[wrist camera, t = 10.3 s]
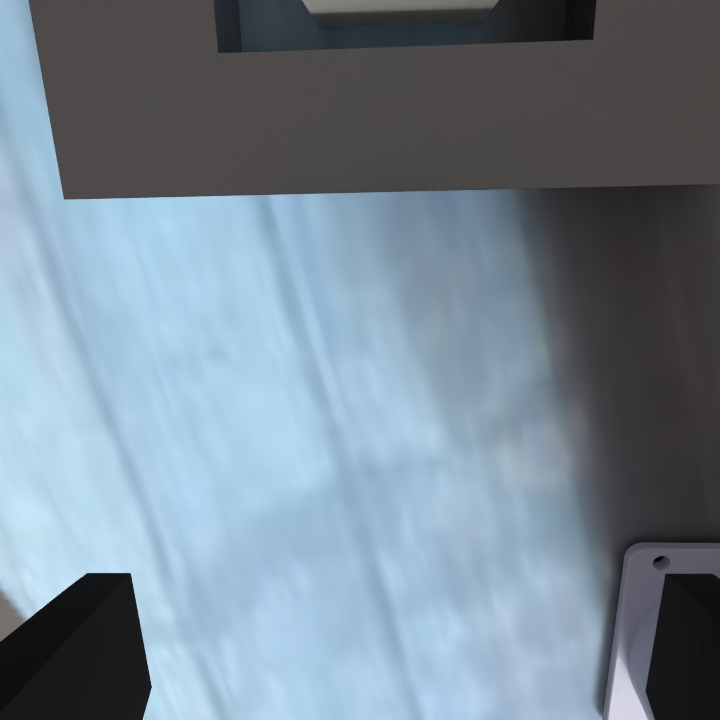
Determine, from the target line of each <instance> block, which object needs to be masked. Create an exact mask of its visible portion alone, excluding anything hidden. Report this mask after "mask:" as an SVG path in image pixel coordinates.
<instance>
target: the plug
mask: <svg viewBox="0 0 720 720" xmlns="http://www.w3.org/2000/svg"><path fill="white" fill-rule="evenodd" d="M302 1H303V3H304V4H305V6H306V7H307V9H308V10H309V12H310V13H311V15H312V17H313V18H314V20H315V21H316V23H317V24H318V26H319V27H343V26H378V25H413V24H447V23H482V22H483V20H484V19H485V18H486V17H487V15H488V14H489V13H490V11H491V10H492V9H493V7H494V6H495V5H496V4H497V2H498V1H499V0H302Z"/></svg>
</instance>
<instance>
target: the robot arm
mask: <svg viewBox="0 0 720 720" xmlns="http://www.w3.org/2000/svg"><path fill="white" fill-rule="evenodd" d="M659 556H664V558H663V559H662V560H661V561H658V562H653V561H654V559H655V558H657V557H659ZM151 688H152V686H151V681H150V675H149V670H148V665H147V659H146V654H145V648H144V643H143V637H142V632H141V627H140V621H139V616H138V610H137V605H136V599H135V594H134V589H133V583H132V578H131V573H87V574H86V575H84V576H83V577H82V578H80V579H79V580H77V581H76V582H75V583H73V584H72V585H71V586H69V587H68V588H67V589H66V590H64V591H63V592H62V593H61V594H59V595H58V596H57V597H55V598H54V599H53V600H52V601H50V602H49V603H48V604H47V605H45V606H44V607H43V608H42V609H41V610H39V611H38V612H37V613H36V614H34V615H33V616H32V617H31V618H29V619H28V620H27V621H26V622H24V623H23V624H22V625H21V626H20V627H18V628H17V629H16V630H15V631H13V632H12V633H11V634H10V635H8V636H7V637H6V638H5V639H3V640H2V641H1V642H0V720H143V716H144V713H145V709H146V706H147V702H148V698H149V695H150V691H151ZM602 720H720V543H645V542H642V543H636V544H634V545H632V546H630V547H629V549H628V550H627V551H626V553H625V556H624V563H623V571H622V578H621V585H620V593H619V600H618V608H617V615H616V622H615V630H614V637H613V645H612V652H611V659H610V667H609V674H608V682H607V689H606V696H605V704H604V711H603V719H602Z"/></svg>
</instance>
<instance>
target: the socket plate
mask: <svg viewBox="0 0 720 720" xmlns="http://www.w3.org/2000/svg"><path fill="white" fill-rule="evenodd" d="M29 5H30V10H31V16H32V21H33V27H34V33H35V38H36V44H37V50H38V55H39V61H40V66H41V72H42V78H43V83H44V89H45V95H46V100H47V106H48V111H49V117H50V123H51V128H52V134H53V140H54V145H55V151H56V156H57V162H58V168H59V173H60V179H61V185H62V190H63V196H64V199H105V198H148V197H190V196H233V195H276V194H318V193H361V192H403V191H446V190H488V189H531V188H574V187H616V186H659V185H701V184H720V0H568V1H567V15H566V28H565V41H545V42H517V43H489V44H462V45H434V46H406V47H378V48H350V49H322V50H294V51H266V52H242V49H241V36H240V24H239V11H238V0H29Z"/></svg>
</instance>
